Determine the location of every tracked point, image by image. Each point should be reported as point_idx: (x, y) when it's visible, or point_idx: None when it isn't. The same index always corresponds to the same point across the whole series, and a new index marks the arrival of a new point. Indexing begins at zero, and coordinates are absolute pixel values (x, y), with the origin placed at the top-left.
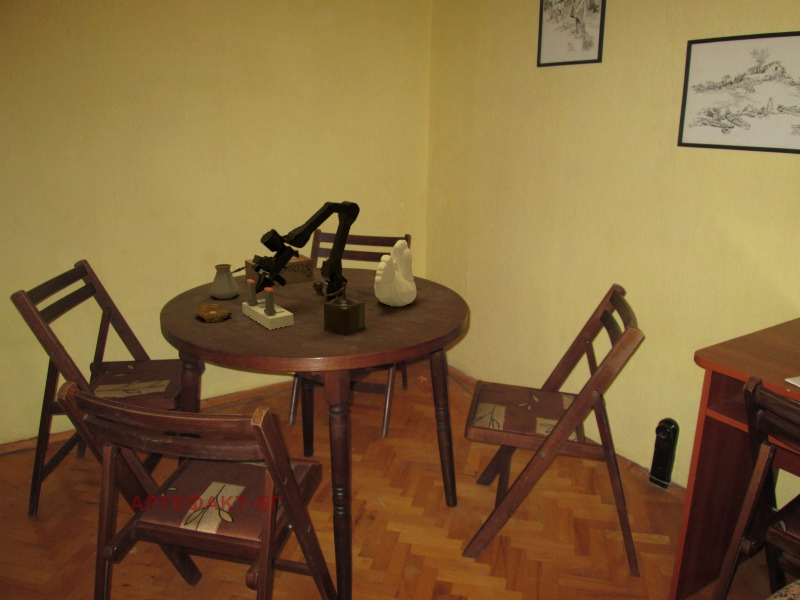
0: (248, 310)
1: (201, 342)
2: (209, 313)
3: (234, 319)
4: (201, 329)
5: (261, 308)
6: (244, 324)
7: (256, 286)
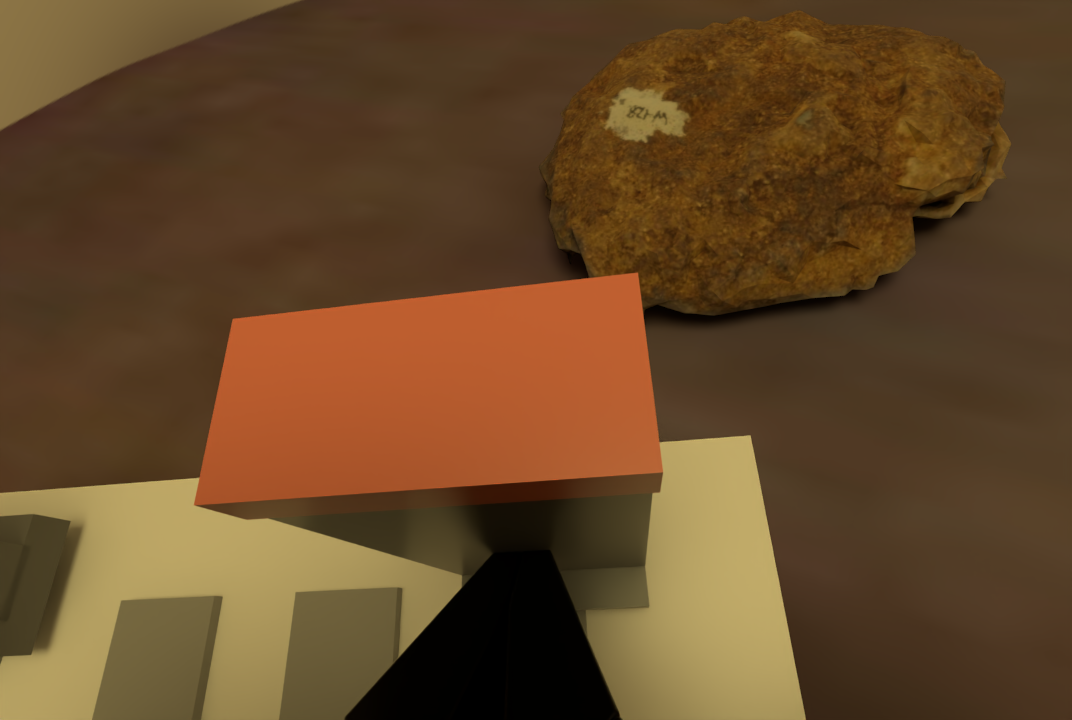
0: None
1: (219, 52)
2: (622, 85)
3: None
4: (454, 74)
5: (301, 589)
6: None
7: (509, 659)
